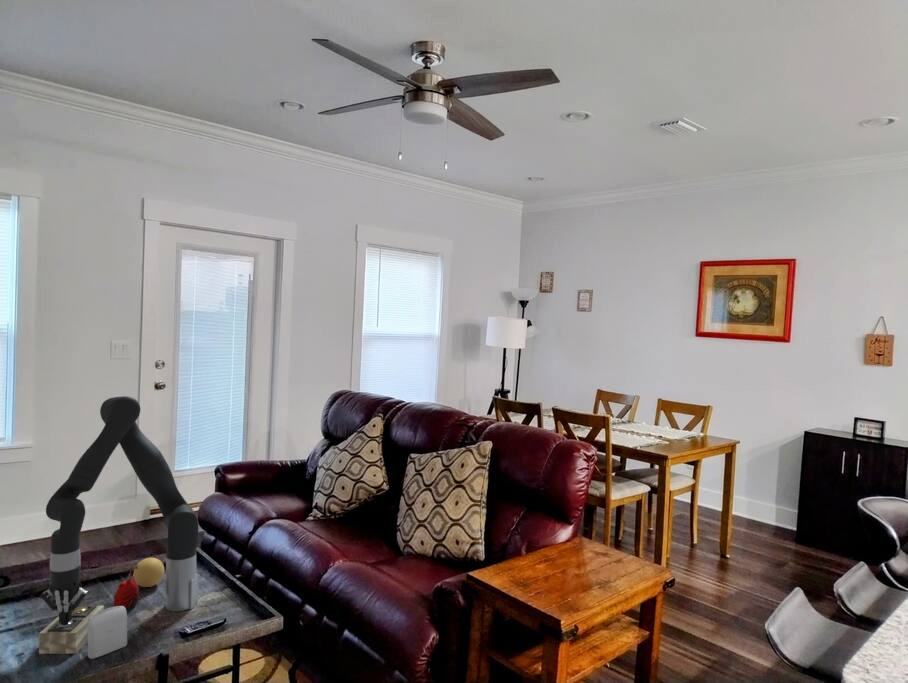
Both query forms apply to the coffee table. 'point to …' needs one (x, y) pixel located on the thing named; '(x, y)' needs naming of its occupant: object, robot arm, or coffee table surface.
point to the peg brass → (80, 610)
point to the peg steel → (65, 624)
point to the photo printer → (107, 631)
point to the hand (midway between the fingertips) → (65, 622)
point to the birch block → (67, 633)
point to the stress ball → (148, 572)
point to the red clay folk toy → (127, 593)
